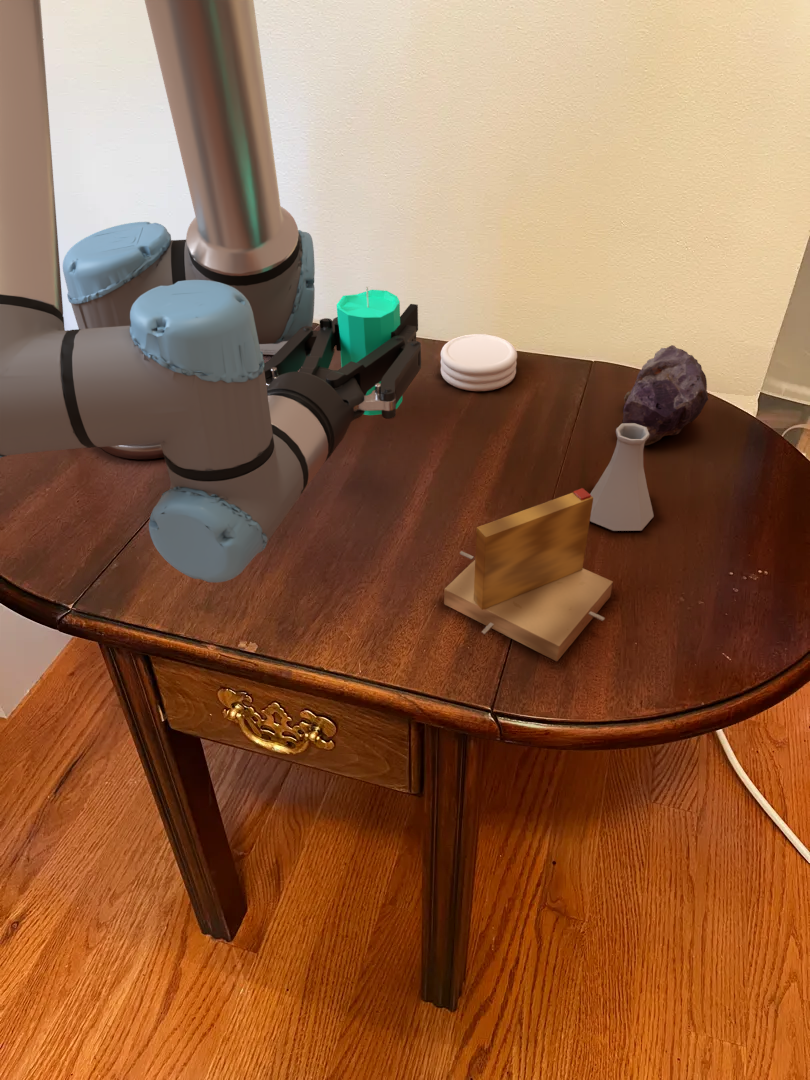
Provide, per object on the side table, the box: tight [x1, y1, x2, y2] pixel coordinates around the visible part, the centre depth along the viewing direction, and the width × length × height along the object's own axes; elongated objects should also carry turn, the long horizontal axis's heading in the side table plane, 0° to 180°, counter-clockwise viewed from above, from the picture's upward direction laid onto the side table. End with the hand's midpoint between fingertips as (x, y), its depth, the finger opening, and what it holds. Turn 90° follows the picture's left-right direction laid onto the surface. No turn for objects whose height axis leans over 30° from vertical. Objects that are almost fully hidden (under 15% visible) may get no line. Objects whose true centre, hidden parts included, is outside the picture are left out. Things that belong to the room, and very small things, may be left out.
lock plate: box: [443, 550, 614, 662], centre depth 77 cm, size 15×15×2 cm
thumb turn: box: [474, 487, 593, 610], centre depth 74 cm, size 11×2×9 cm, turn 118°
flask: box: [589, 423, 655, 532], centre depth 85 cm, size 7×7×10 cm
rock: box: [621, 344, 709, 446], centre depth 98 cm, size 12×9×10 cm
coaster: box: [440, 333, 518, 392], centre depth 110 cm, size 10×10×4 cm
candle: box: [336, 286, 403, 416], centre depth 81 cm, size 6×6×12 cm
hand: (388, 313), depth 84 cm, fingers closed on candle, 5 cm apart
